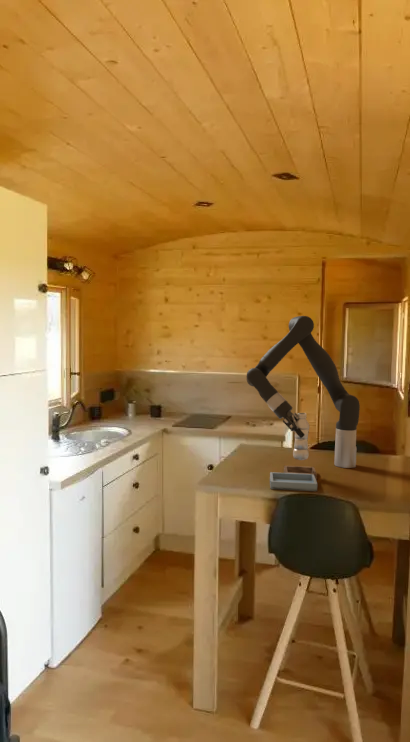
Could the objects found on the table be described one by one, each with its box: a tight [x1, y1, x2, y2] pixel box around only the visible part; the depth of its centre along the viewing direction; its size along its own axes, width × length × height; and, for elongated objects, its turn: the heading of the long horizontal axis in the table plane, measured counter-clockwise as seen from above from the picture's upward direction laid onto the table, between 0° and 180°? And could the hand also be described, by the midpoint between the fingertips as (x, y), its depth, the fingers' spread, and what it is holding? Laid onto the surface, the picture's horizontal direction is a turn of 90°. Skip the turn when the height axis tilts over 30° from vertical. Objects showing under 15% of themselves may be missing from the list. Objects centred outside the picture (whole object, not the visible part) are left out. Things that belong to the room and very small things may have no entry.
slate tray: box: [269, 471, 318, 492], centre depth 227 cm, size 18×14×3 cm
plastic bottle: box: [292, 412, 310, 461], centre depth 240 cm, size 6×7×20 cm
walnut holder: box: [283, 465, 318, 481], centre depth 241 cm, size 13×12×2 cm
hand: (305, 435), depth 239 cm, fingers closed on plastic bottle, 6 cm apart
